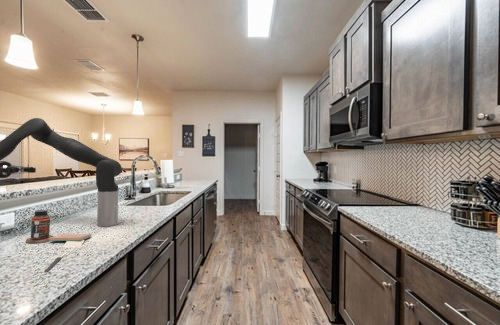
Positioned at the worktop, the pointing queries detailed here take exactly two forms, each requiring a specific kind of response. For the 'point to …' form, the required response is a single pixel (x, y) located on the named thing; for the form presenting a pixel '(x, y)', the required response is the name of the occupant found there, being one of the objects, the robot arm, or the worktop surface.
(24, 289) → the worktop surface
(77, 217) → the worktop surface
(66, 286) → the worktop surface
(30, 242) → the coaster
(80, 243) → the spatula
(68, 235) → the tile
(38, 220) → the supplement bottle
